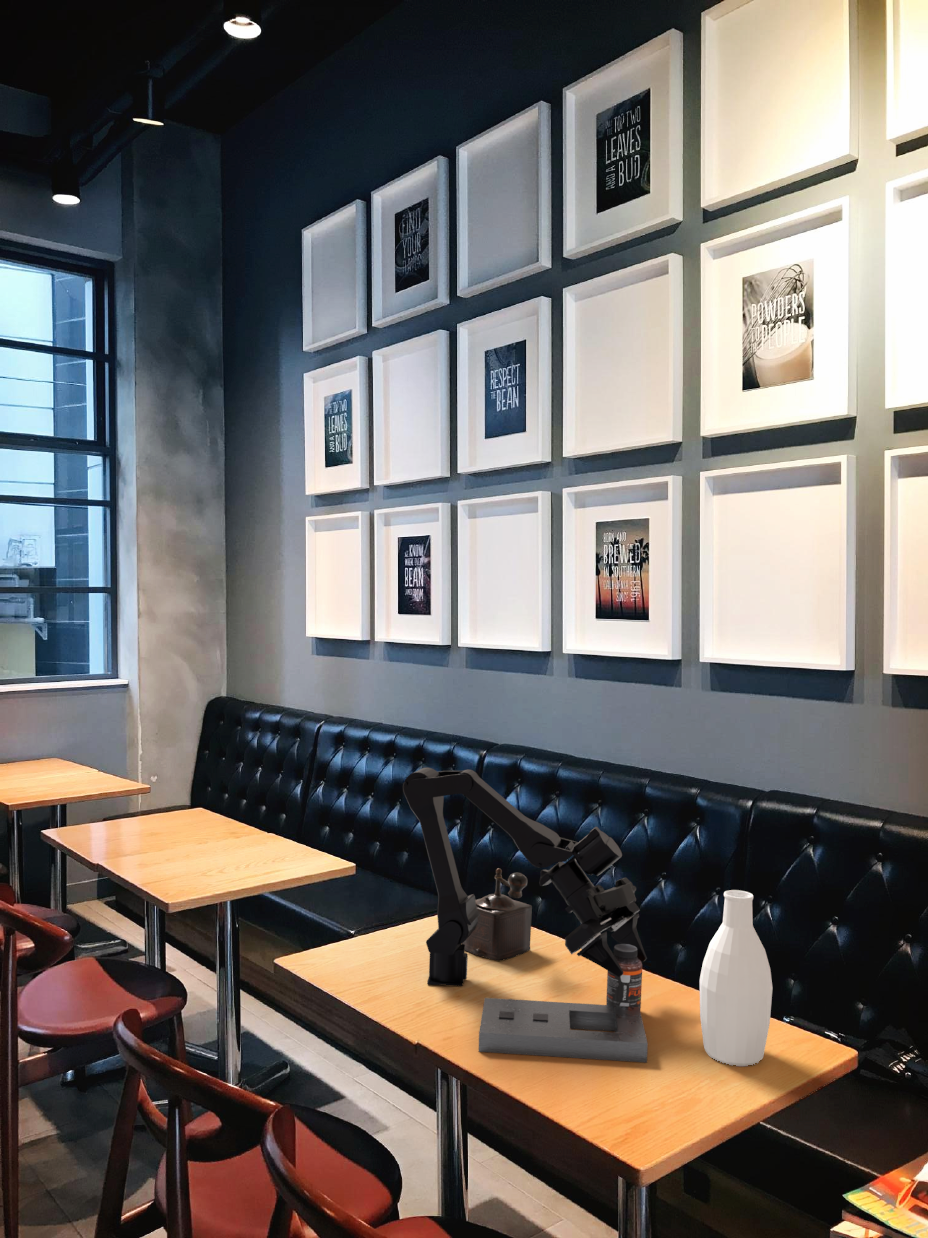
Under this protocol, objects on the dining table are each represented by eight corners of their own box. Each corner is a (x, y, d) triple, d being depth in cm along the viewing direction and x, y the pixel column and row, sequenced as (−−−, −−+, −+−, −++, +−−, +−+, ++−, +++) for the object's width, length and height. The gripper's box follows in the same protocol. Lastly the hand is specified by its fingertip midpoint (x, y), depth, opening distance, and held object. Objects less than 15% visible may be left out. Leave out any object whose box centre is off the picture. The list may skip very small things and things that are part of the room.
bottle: (767, 1043, 163) (772, 887, 162) (773, 1074, 152) (779, 907, 151) (696, 1035, 165) (701, 881, 165) (698, 1065, 154) (703, 900, 154)
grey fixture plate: (478, 1051, 157) (479, 1031, 157) (484, 1015, 171) (484, 996, 171) (646, 1062, 155) (647, 1042, 155) (638, 1025, 169) (639, 1006, 168)
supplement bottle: (632, 1022, 170) (634, 956, 169) (600, 1014, 173) (602, 948, 173) (646, 1011, 175) (648, 946, 174) (614, 1003, 178) (616, 939, 178)
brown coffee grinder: (457, 950, 203) (459, 861, 202) (493, 937, 211) (495, 852, 211) (515, 971, 192) (518, 877, 192) (551, 957, 200) (554, 867, 200)
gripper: (583, 876, 168) (641, 957, 162) (631, 855, 183) (686, 928, 177) (541, 914, 173) (596, 993, 166) (591, 890, 188) (644, 962, 182)
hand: (633, 967), depth 173 cm, fingers open, 9 cm apart
